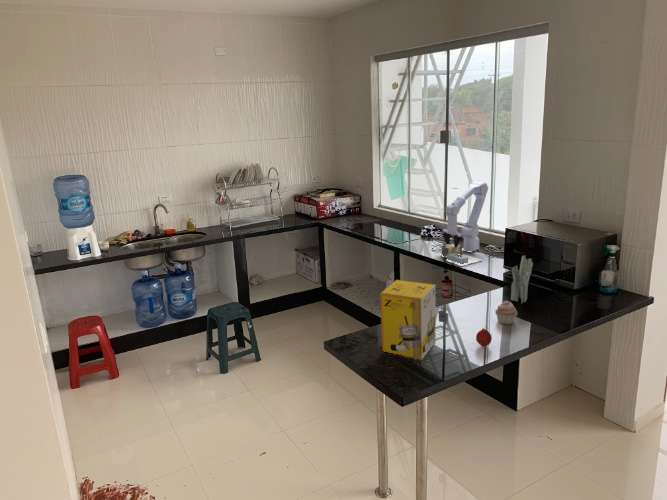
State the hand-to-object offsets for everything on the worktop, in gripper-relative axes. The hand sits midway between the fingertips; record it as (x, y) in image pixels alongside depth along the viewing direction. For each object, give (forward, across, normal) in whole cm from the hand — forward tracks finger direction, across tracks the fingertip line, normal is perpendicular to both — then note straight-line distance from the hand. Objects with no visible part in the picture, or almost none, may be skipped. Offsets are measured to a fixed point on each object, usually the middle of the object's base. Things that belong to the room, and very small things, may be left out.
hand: (451, 245), depth 310 cm
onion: (+7, +99, -71) cm, 122 cm away
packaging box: (+7, +83, -95) cm, 127 cm away
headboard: (+6, +13, -2) cm, 15 cm away
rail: (+6, 0, 0) cm, 7 cm away
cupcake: (+7, +88, -47) cm, 100 cm away
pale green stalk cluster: (+7, +74, -23) cm, 78 cm away
